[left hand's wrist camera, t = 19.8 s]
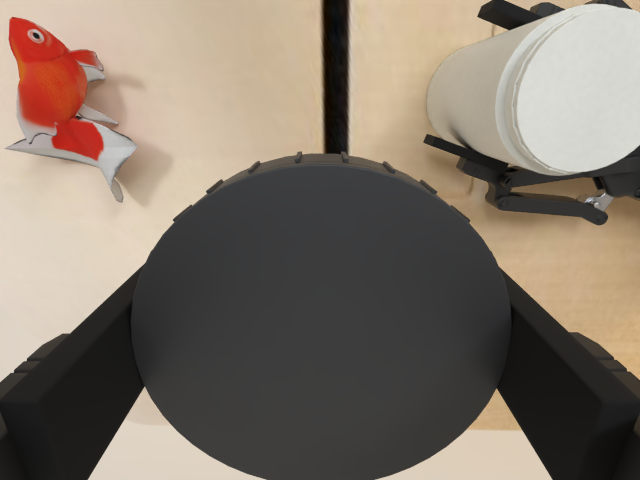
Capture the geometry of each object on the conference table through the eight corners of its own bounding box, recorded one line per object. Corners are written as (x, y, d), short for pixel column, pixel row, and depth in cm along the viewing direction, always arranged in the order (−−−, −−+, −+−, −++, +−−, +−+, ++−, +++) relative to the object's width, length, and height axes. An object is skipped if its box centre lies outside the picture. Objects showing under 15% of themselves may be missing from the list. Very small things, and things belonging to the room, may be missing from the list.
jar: (446, 31, 34) (555, -28, 18) (540, 59, 35) (722, 24, 19) (413, 133, 38) (481, 158, 22) (499, 157, 38) (627, 197, 22)
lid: (524, 379, 13) (555, 422, 11) (257, 474, 14) (248, 524, 13) (417, 81, 10) (438, 77, 8) (86, 246, 11) (44, 272, 9)
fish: (144, 18, 30) (34, 60, 23) (185, 178, 41) (118, 238, 34) (42, -3, 32) (-85, 30, 26) (106, 154, 43) (30, 205, 37)
